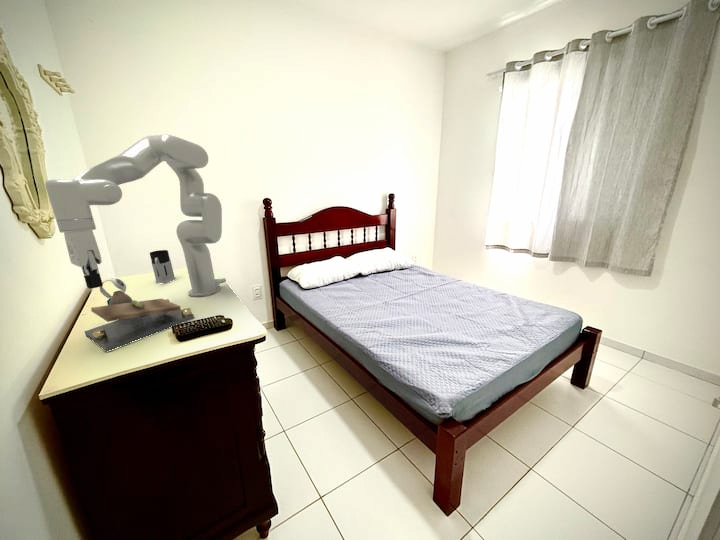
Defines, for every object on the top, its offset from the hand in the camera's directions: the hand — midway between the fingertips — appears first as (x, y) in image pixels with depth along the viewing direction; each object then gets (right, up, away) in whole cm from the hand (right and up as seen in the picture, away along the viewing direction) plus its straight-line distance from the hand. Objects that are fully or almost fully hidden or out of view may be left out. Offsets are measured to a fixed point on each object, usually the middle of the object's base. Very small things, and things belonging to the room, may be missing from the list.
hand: (95, 286), depth 86 cm
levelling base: (+5, -14, +12) cm, 19 cm away
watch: (-19, -9, +31) cm, 38 cm away
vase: (-10, -11, +23) cm, 28 cm away
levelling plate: (+5, -8, +10) cm, 14 cm away
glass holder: (-17, -1, +56) cm, 59 cm away
